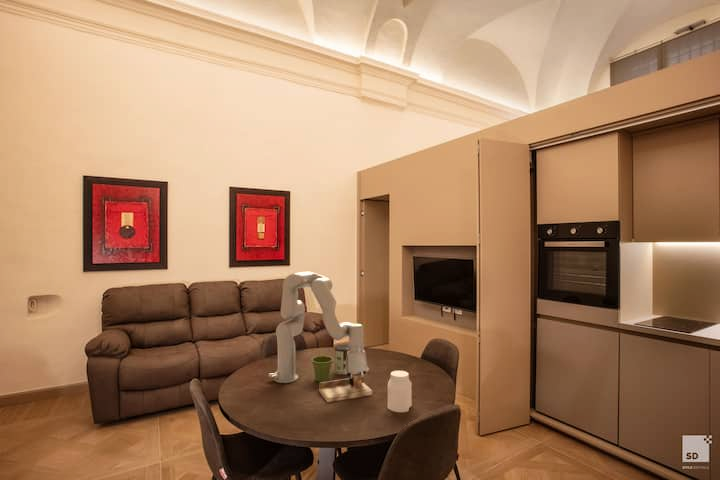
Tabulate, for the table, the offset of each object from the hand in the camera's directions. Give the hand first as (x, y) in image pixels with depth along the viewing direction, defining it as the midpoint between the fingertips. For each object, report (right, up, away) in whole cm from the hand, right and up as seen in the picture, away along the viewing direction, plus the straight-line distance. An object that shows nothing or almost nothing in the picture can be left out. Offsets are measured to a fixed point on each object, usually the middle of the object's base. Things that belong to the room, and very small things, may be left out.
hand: (356, 384), depth 187 cm
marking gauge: (+1, -1, -2) cm, 3 cm away
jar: (+20, -3, -20) cm, 28 cm away
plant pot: (-19, -3, +14) cm, 24 cm away
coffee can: (-8, -3, +27) cm, 28 cm away
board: (-5, -3, -4) cm, 7 cm away
